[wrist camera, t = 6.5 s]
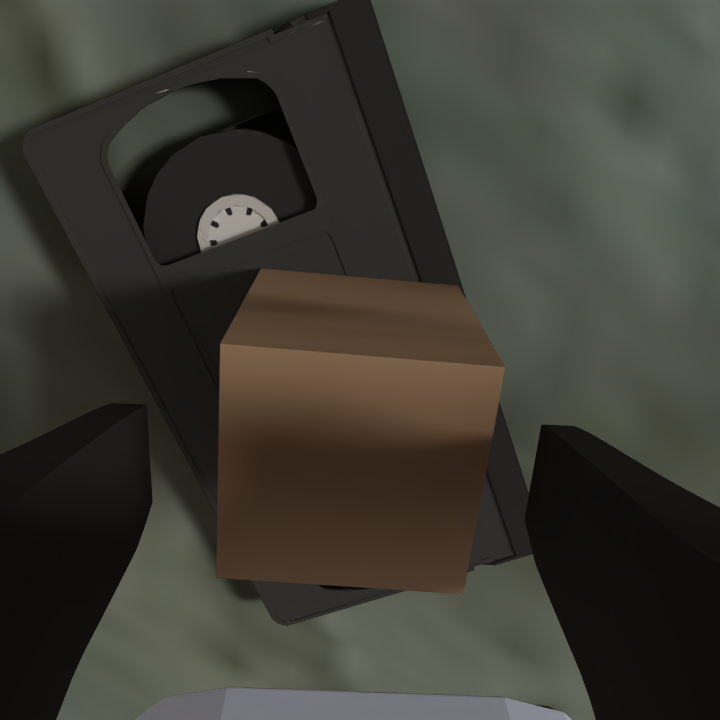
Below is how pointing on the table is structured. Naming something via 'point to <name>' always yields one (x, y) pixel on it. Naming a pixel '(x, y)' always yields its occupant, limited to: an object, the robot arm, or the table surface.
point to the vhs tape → (263, 236)
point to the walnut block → (353, 433)
